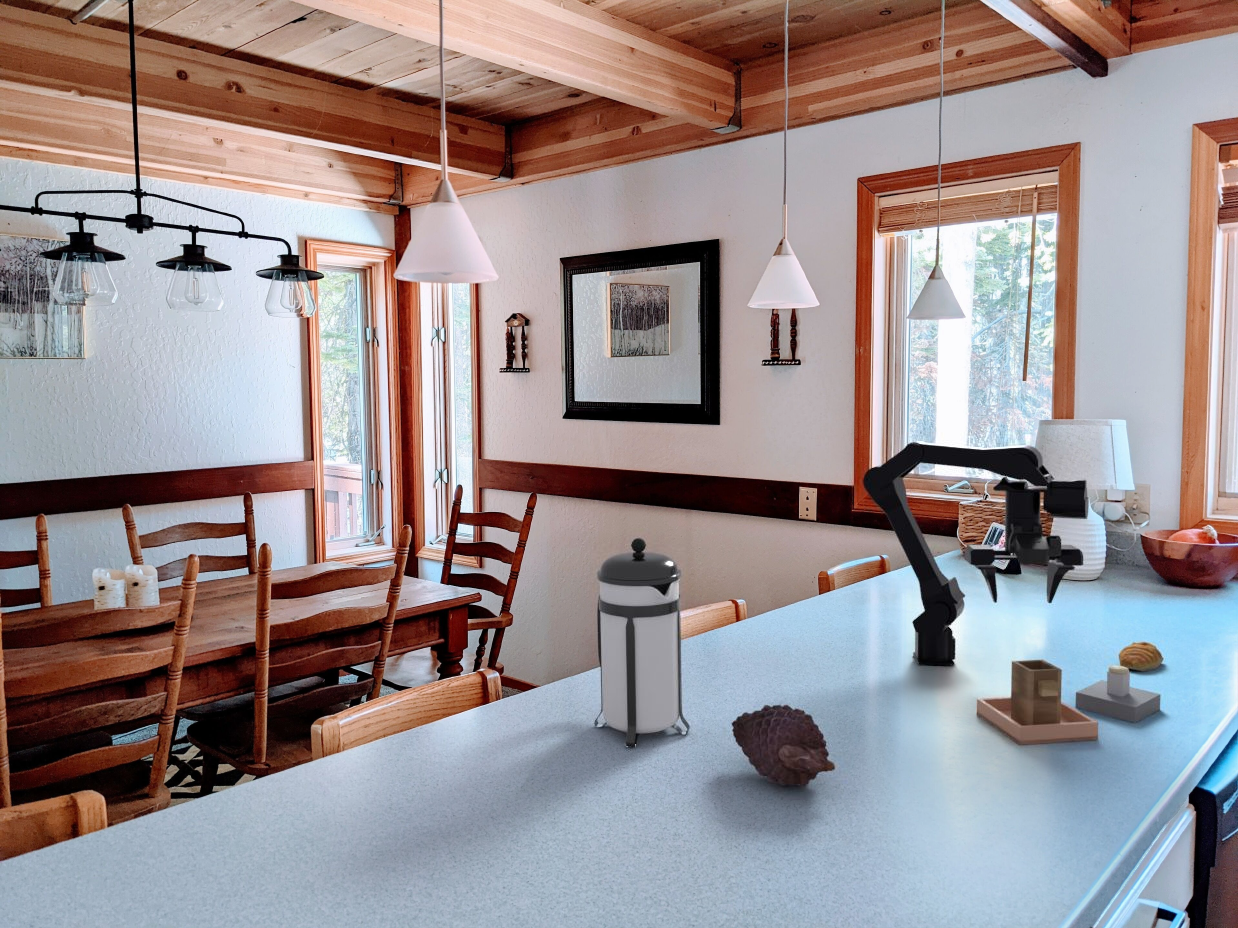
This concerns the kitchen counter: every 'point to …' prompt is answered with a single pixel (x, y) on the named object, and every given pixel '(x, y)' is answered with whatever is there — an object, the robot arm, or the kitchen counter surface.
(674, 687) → the coffee press
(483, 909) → the kitchen counter surface
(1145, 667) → the pastry
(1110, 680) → the block
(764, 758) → the pine cone
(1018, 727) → the terracotta tray
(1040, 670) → the walnut sleeve
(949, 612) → the robot arm
